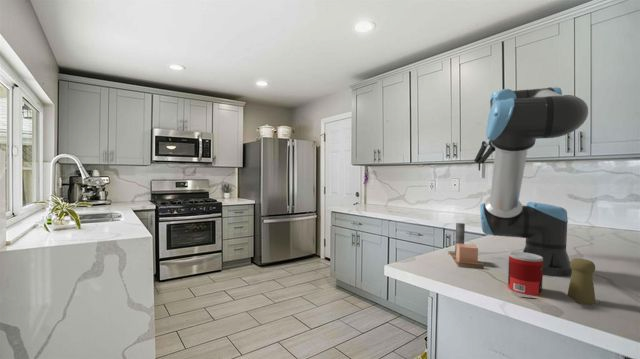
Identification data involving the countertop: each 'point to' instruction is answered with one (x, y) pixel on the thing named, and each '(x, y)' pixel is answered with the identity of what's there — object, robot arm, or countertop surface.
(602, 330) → the countertop surface
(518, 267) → the canned food
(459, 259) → the terracotta block
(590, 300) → the cork
